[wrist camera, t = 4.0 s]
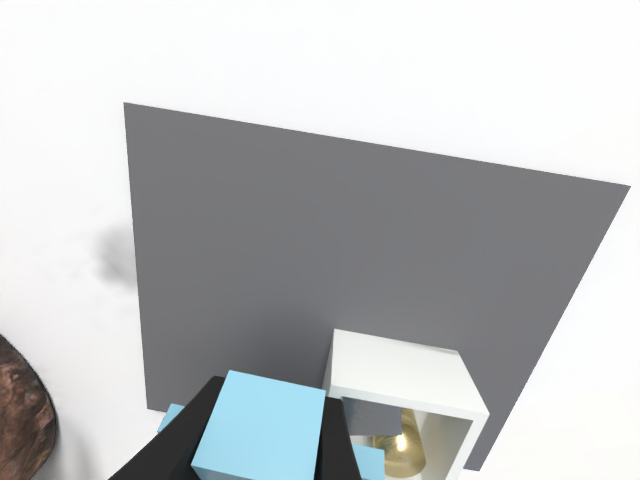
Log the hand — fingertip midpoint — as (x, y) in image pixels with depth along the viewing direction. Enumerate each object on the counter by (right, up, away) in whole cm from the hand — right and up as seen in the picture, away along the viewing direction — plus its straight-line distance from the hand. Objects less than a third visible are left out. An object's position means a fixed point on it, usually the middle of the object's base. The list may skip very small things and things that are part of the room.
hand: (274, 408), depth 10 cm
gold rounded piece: (+7, -7, +11) cm, 14 cm away
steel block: (+5, -3, +9) cm, 11 cm away
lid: (-1, -4, +3) cm, 5 cm away
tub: (+6, -5, +11) cm, 13 cm away
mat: (+3, +1, +9) cm, 9 cm away
